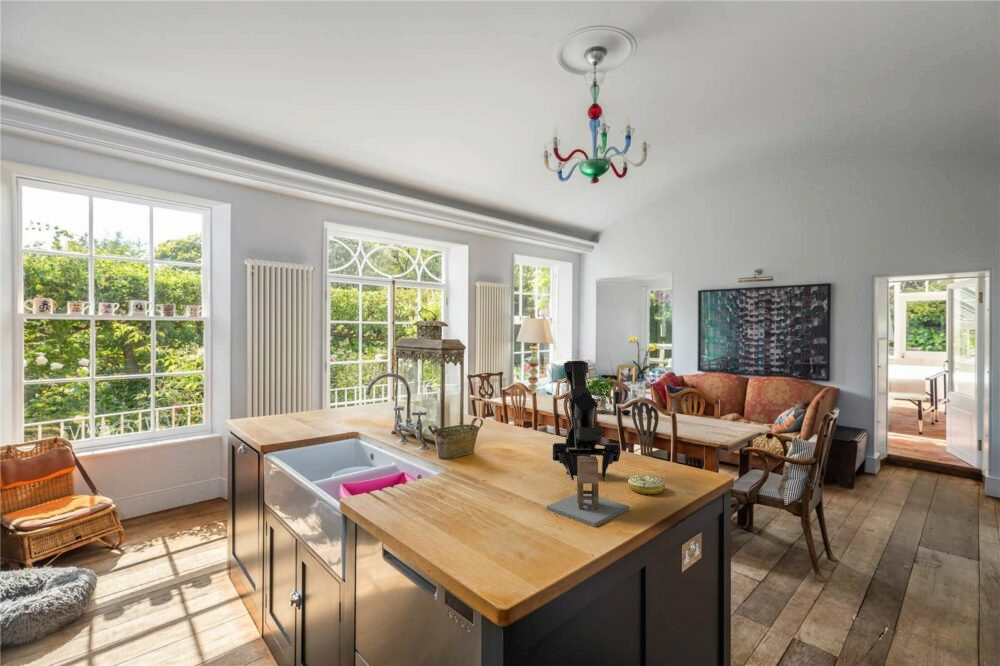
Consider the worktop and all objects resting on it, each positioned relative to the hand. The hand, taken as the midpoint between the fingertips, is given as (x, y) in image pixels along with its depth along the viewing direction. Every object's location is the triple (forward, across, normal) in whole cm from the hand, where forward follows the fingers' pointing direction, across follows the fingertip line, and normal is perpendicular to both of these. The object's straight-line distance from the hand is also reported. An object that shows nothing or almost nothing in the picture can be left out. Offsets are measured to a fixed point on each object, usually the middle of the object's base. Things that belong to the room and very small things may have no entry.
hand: (588, 480), depth 126 cm
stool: (+4, 0, +6) cm, 8 cm away
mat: (+5, 0, +7) cm, 9 cm away
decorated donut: (-7, +19, +20) cm, 28 cm away
